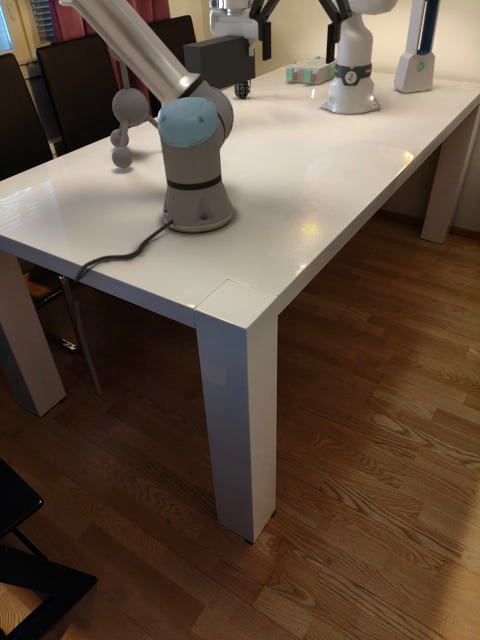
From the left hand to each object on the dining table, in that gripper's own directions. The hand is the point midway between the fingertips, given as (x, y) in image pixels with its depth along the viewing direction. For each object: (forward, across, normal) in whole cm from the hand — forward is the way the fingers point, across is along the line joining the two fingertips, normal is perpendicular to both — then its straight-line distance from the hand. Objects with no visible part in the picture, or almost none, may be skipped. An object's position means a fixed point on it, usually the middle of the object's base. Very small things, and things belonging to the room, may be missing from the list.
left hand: (297, 61), depth 97 cm
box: (+14, +39, -36) cm, 55 cm away
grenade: (+28, +54, -75) cm, 96 cm away
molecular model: (+28, +51, -10) cm, 59 cm away
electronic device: (+28, -3, -105) cm, 109 cm away
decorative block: (+28, +40, -113) cm, 123 cm away
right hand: (+8, +38, -45) cm, 59 cm away
